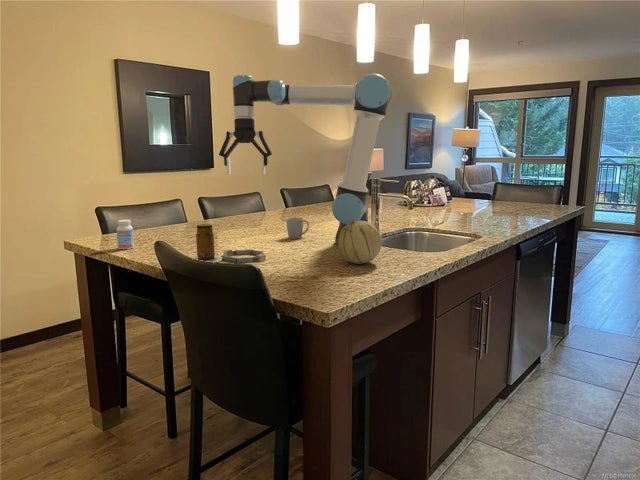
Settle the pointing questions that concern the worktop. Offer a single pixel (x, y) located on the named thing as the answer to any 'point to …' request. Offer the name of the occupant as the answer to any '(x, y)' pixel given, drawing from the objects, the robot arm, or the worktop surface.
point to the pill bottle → (125, 235)
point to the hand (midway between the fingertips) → (246, 174)
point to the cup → (296, 227)
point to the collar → (228, 253)
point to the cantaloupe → (359, 242)
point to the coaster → (217, 260)
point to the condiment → (205, 243)
